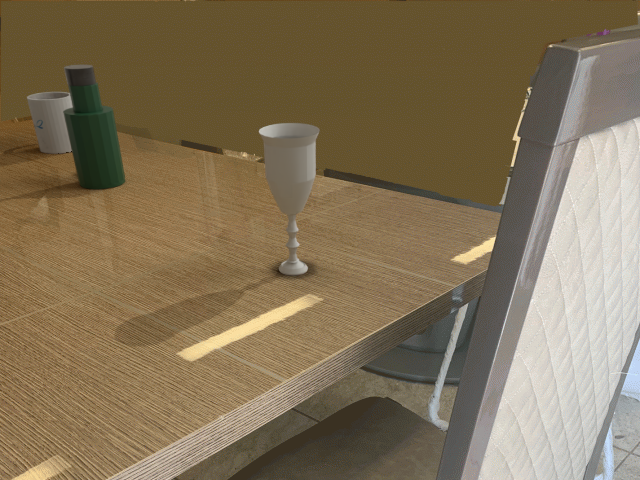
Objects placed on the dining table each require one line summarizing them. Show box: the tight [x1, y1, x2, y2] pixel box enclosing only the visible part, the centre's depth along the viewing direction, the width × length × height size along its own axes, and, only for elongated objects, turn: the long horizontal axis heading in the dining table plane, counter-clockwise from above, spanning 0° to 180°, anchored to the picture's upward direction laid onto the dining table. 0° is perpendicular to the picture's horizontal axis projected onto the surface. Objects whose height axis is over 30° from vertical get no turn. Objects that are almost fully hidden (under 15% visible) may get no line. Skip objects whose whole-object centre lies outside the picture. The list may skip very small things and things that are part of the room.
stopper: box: [63, 64, 97, 86], centre depth 107 cm, size 5×5×8 cm
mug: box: [26, 91, 73, 155], centre depth 134 cm, size 12×9×10 cm
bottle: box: [63, 82, 126, 190], centre depth 111 cm, size 8×8×16 cm
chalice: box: [258, 122, 321, 276], centre depth 77 cm, size 7×7×18 cm
